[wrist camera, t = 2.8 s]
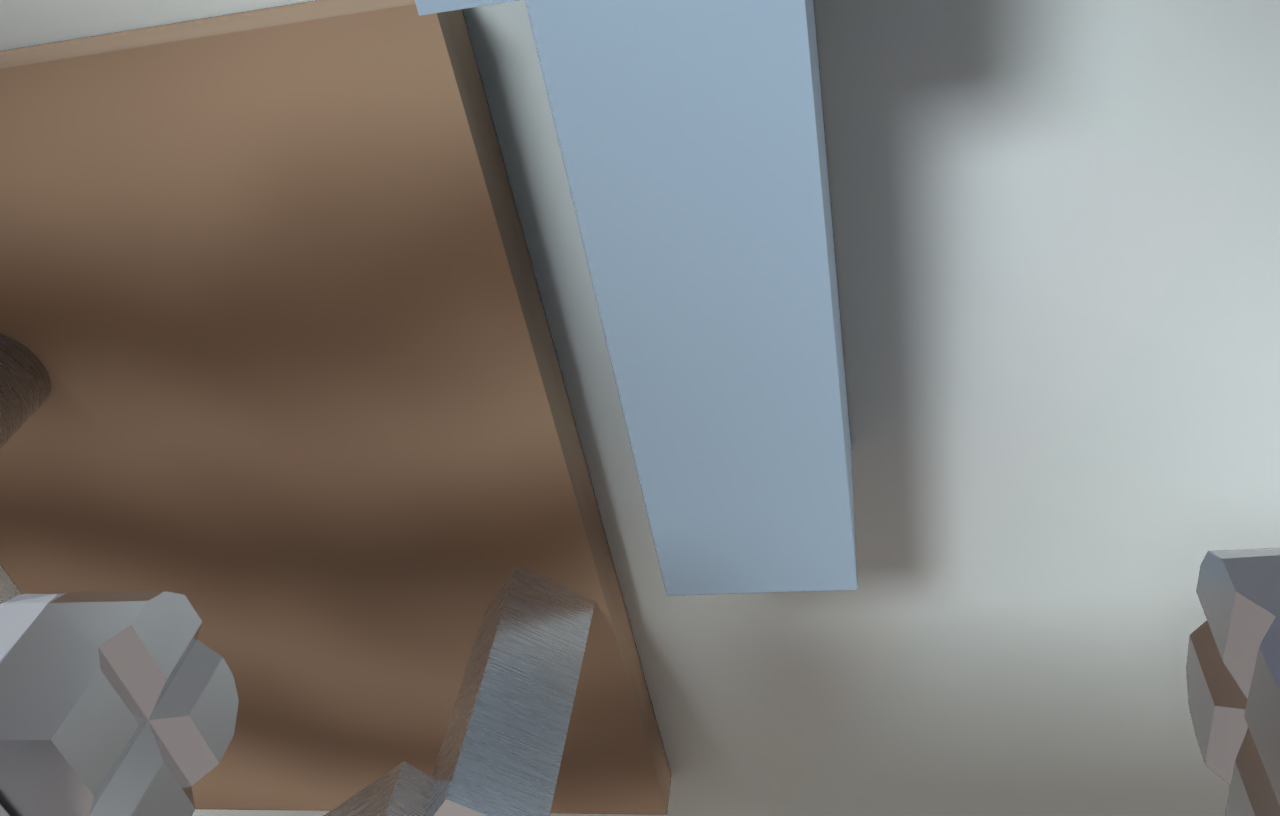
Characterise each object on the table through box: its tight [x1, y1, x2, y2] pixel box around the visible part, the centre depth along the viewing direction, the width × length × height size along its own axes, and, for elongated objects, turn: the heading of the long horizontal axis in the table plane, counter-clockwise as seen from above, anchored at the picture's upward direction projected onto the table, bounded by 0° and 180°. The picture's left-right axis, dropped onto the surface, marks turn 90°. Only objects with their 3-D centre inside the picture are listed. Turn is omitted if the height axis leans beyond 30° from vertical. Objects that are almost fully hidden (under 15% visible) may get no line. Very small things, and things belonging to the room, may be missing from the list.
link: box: [415, 0, 857, 596], centre depth 16 cm, size 17×6×4 cm, turn 10°
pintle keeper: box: [0, 334, 595, 816], centre depth 22 cm, size 16×6×6 cm, turn 48°
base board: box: [0, 0, 671, 814], centre depth 25 cm, size 22×15×1 cm
